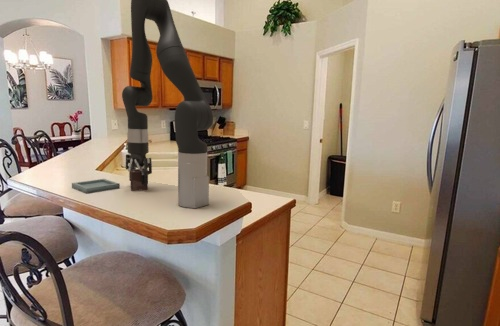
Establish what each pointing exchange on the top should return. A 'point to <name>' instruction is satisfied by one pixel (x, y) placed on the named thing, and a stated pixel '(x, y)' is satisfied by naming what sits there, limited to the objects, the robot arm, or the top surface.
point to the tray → (95, 185)
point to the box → (137, 180)
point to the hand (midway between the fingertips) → (138, 182)
